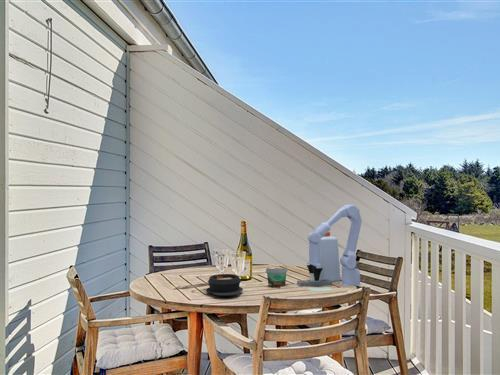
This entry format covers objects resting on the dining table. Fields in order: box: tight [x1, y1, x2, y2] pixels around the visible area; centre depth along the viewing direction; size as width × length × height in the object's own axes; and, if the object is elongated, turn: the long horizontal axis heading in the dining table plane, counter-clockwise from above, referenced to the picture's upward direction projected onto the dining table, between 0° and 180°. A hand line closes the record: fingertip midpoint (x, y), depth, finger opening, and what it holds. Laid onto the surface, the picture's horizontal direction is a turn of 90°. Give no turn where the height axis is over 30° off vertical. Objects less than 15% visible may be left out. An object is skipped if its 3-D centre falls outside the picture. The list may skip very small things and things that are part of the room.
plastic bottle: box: [319, 231, 342, 282], centre depth 229 cm, size 15×15×28 cm
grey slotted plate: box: [296, 279, 333, 288], centre depth 213 cm, size 18×6×3 cm, turn 98°
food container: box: [265, 266, 289, 288], centre depth 211 cm, size 12×6×10 cm, turn 105°
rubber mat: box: [307, 286, 334, 292], centre depth 203 cm, size 12×8×1 cm, turn 98°
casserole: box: [205, 273, 244, 297], centre depth 197 cm, size 25×19×8 cm
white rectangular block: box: [309, 273, 319, 282], centre depth 213 cm, size 4×3×6 cm, turn 98°
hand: (314, 279), depth 213 cm, fingers open, 7 cm apart
